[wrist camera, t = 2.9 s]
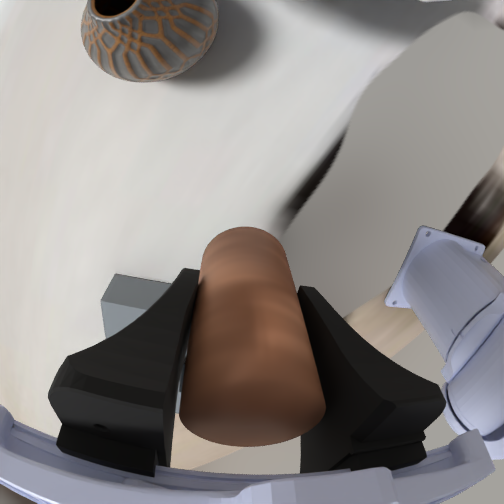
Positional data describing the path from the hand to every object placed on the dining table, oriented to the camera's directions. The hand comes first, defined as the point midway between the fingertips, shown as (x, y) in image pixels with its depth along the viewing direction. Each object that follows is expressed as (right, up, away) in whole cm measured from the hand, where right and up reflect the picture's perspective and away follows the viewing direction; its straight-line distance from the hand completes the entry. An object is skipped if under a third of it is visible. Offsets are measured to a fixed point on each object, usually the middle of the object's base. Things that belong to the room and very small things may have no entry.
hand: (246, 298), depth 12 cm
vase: (-5, +15, +2) cm, 16 cm away
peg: (0, +1, +2) cm, 2 cm away
